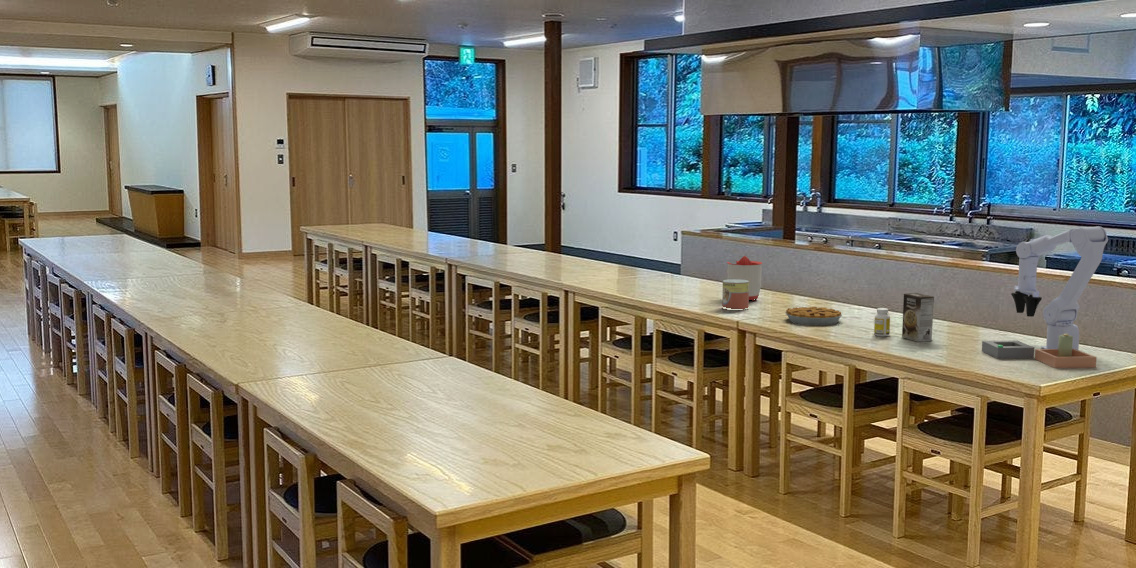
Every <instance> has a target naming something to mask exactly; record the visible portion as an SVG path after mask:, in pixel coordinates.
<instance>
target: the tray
mask: <svg viewBox="0 0 1136 568" xmlns="http://www.w3.org/2000/svg"><path fill="white" fill-rule="evenodd" d="M1097 358H1098V357H1097V356H1095V355H1093V354H1090V353H1087V352H1084V351H1082V350H1080V349H1078V350H1077V349H1072V357H1058V349H1043V348H1035V349H1034V360H1035V361H1038V362H1040V361H1041V362H1040V363H1042V362H1043V364H1045V365H1047V366H1050V367H1051V368H1054V369H1070V368H1071V369H1072V368H1074V369H1076V368H1082V369H1083V368H1087V369H1088V368H1097Z"/></svg>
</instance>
